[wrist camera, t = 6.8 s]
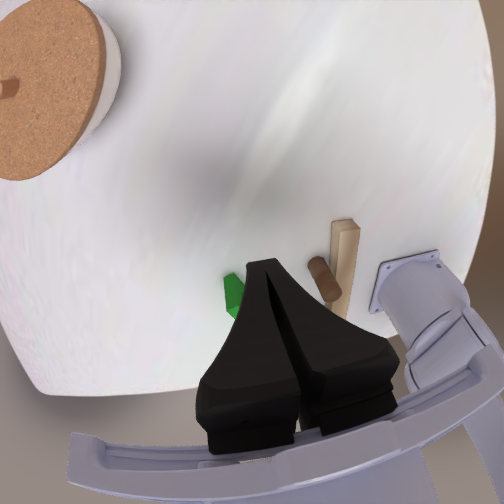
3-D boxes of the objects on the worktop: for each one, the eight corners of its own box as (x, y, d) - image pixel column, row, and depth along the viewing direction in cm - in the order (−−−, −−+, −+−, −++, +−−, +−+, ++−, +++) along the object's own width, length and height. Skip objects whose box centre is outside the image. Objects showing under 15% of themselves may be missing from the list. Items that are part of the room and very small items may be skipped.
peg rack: (351, 218, 24) (375, 245, 20) (336, 329, 33) (348, 356, 29) (308, 225, 24) (326, 254, 20) (304, 336, 33) (314, 365, 29)
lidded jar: (63, 172, 17) (-3, 229, 10) (9, 83, 11) (-68, 104, 4) (167, 90, 16) (128, 92, 8) (104, -7, 10) (44, -46, 2)
